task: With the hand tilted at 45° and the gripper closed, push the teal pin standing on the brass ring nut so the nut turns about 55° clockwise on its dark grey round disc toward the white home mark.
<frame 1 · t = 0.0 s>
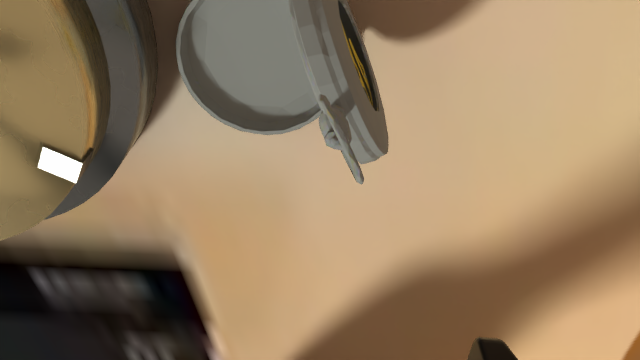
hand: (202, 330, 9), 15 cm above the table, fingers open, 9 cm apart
pocket watch: (291, 43, 21), on the table
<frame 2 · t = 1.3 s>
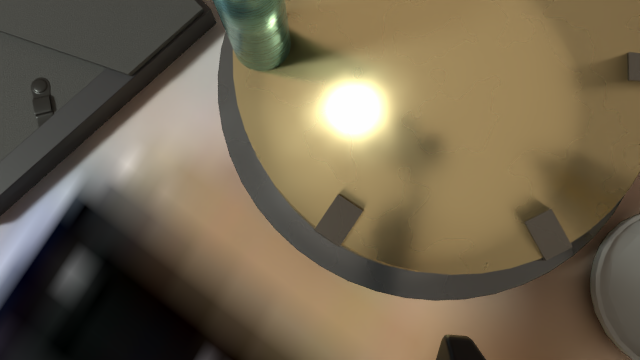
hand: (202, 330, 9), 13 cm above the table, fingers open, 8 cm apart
ring nut: (466, 27, 16), point 7 cm above the table, hinge at 0.0°
dark grey round disc: (420, 99, 23), on the table
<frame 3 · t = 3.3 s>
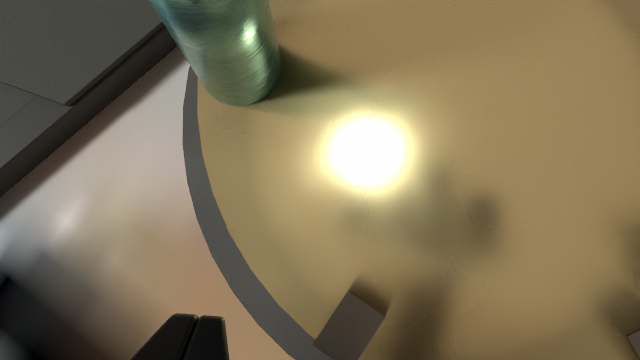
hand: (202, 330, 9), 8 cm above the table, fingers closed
ring nut: (548, 46, 10), point 7 cm above the table, hinge at 0.0°
dark grey round disc: (455, 137, 18), on the table
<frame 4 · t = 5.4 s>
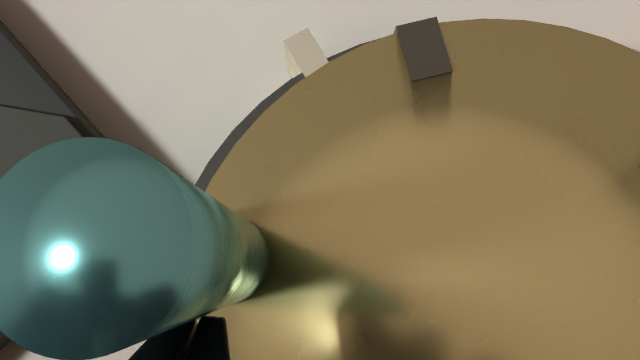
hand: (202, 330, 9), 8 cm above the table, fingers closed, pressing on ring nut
dark grey round disc: (452, 320, 16), on the table
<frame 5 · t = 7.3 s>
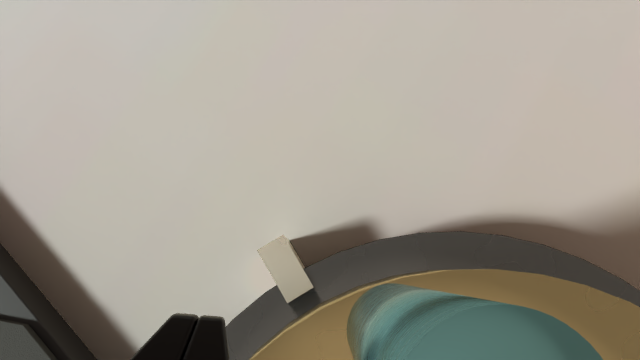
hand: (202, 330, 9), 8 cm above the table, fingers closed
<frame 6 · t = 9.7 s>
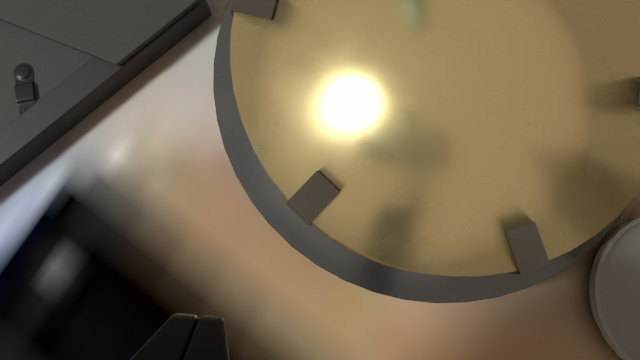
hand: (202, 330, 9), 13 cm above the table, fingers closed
ring nut: (476, 17, 15), point 7 cm above the table, hinge at -68.2°
dark grey round disc: (423, 94, 22), on the table
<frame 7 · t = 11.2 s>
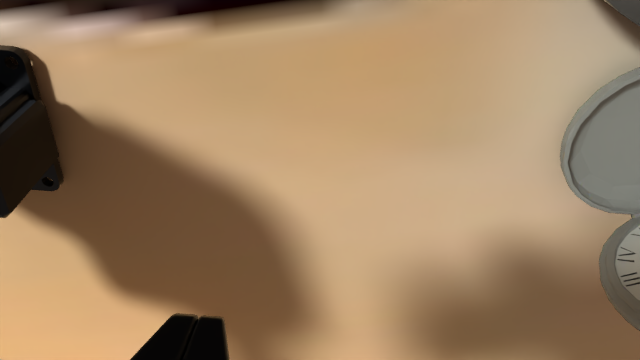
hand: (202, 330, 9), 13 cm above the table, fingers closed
pocket watch: (639, 155, 21), on the table
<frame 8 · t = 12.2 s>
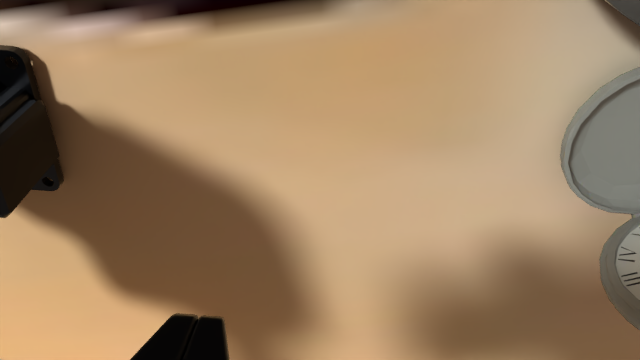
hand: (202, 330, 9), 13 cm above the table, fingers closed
pocket watch: (639, 155, 21), on the table
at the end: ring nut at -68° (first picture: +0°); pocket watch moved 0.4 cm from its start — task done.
